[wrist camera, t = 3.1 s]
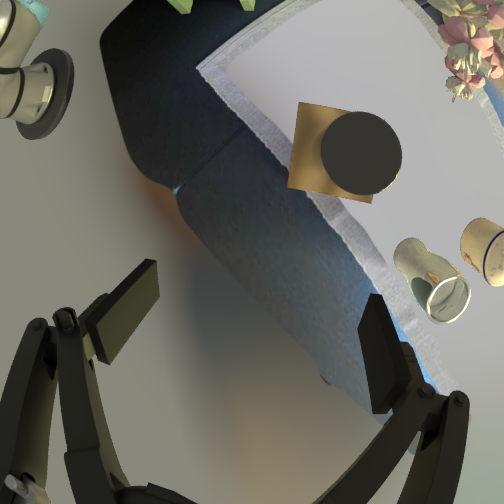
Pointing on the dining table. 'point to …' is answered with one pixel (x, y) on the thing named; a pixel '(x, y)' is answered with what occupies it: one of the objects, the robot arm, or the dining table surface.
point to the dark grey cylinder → (358, 153)
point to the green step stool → (184, 3)
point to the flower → (471, 42)
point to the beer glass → (432, 281)
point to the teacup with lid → (484, 249)
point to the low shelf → (302, 162)
